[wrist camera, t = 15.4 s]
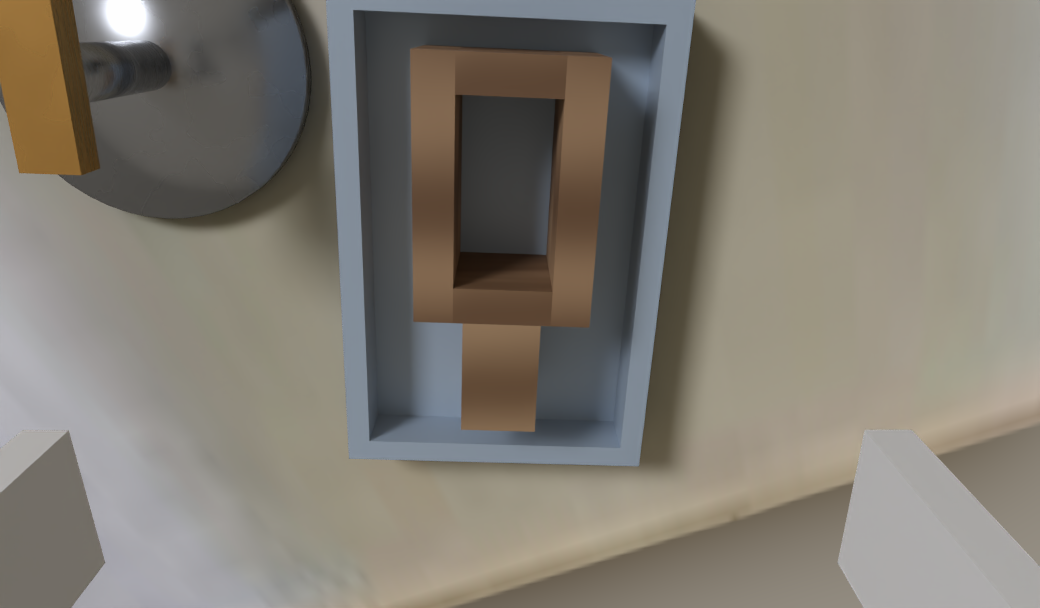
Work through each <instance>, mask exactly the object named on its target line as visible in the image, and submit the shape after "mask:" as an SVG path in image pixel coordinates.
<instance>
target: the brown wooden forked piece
mask: <svg viewBox="0 0 1040 608" xmlns="http://www.w3.org/2000/svg"><path fill="white" fill-rule="evenodd" d="M611 67H612V58H611V57H608V56H605V55H602V54H599V53H595V52H573V51H551V50H529V49H506V48H484V47H462V46H440V45H422V46H419V47H415V48H411V49H410V81H411V165H412V249H413V322H430V323H461V324H463V326H462V392H461V430H487V431H524V432H535V417H536V400H537V382H538V365H539V348H540V331H541V326H553V327H584V328H589V326H590V314H591V303H592V291H593V279H594V267H595V256H596V244H597V232H598V220H599V208H600V197H601V185H602V173H603V161H604V150H605V138H606V126H607V114H608V102H609V91H610V79H611ZM463 95H476V96H500V97H523V98H547V99H555V114H554V131H553V148H552V165H551V182H550V199H549V216H548V233H547V250H546V255H537V254H509V253H481V252H460V247H461V172H462V98H463Z"/></svg>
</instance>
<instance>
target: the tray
mask: <svg viewBox="0 0 1040 608" xmlns="http://www.w3.org/2000/svg"><path fill="white" fill-rule="evenodd" d="M695 2H696V0H326V8H327V28H328V48H329V68H330V88H331V108H332V128H333V148H334V167H335V187H336V207H337V227H338V247H339V267H340V287H341V307H342V327H343V347H344V367H345V386H346V406H347V426H348V446H349V459H385V460H422V461H459V462H497V463H534V464H572V465H609V466H639V461H640V453H641V444H642V436H643V428H644V420H645V412H646V403H647V395H648V387H649V379H650V371H651V363H652V354H653V346H654V338H655V330H656V322H657V313H658V305H659V297H660V289H661V281H662V272H663V264H664V256H665V248H666V240H667V231H668V223H669V215H670V207H671V199H672V190H673V182H674V174H675V166H676V158H677V149H678V141H679V133H680V125H681V117H682V109H683V100H684V92H685V84H686V76H687V68H688V59H689V51H690V43H691V35H692V27H693V18H694V10H695ZM422 45H440V46H462V47H484V48H506V49H529V50H551V51H573V52H595V53H599V54H602V55H605V56H608V57H611V58H612V67H611V79H610V91H609V102H608V114H607V126H606V138H605V150H604V161H603V173H602V185H601V197H600V208H599V220H598V232H597V244H596V256H595V267H594V279H593V291H592V303H591V314H590V326H589V328H584V327H553V326H541V331H540V348H539V365H538V382H537V400H536V417H535V432H524V431H487V430H461V392H462V326H463V324H461V323H430V322H413V249H412V165H411V81H410V49H411V48H415V47H419V46H422ZM554 114H555V99H547V98H523V97H500V96H476V95H463V98H462V172H461V247H460V252H481V253H509V254H537V255H546V250H547V233H548V216H549V199H550V182H551V165H552V148H553V131H554Z"/></svg>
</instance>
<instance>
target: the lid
mask: <svg viewBox="0 0 1040 608" xmlns="http://www.w3.org/2000/svg"><path fill="white" fill-rule="evenodd" d="M310 93H311V69H310V61H309V53H308V47H307V43H306V39H305V35H304V31H303V28H302V25H301V22H300V20H299V17H298V14H297V12H296V9H295V7H294V5H293V3H292V1H291V0H0V102H1V104H2V106H3V107H4V109H5V111H6V113H7V117H8V121H9V126H10V131H11V136H12V140H13V145H14V150H15V155H16V159H17V164H18V169H19V173H34V174H58V175H59V176H60V177H62V178H63V179H64V180H65V181H67V182H68V183H69V184H71V185H72V186H74V187H75V188H77V189H79V190H80V191H82V192H83V193H85V194H87V195H88V196H90V197H92V198H94V199H96V200H98V201H100V202H103V203H105V204H107V205H109V206H112V207H115V208H118V209H120V210H123V211H126V212H130V213H134V214H139V215H143V216H148V217H157V218H167V219H168V218H190V217H196V216H203V215H207V214H210V213H214V212H217V211H220V210H223V209H225V208H228V207H230V206H232V205H234V204H236V203H238V202H240V201H242V200H243V199H245V198H246V197H248V196H249V195H251V194H252V193H254V192H255V191H257V190H258V189H260V188H261V187H263V186H264V185H265V184H266V183H267V182H268V181H269V180H270V179H272V178H273V177H274V176H275V175H276V174H277V172H278V171H279V170H280V169H281V168H282V166H283V165H284V164H285V163H286V161H287V160H288V158H289V157H290V155H291V153H292V152H293V150H294V148H295V147H296V145H297V142H298V140H299V138H300V135H301V133H302V131H303V128H304V124H305V120H306V117H307V113H308V108H309V100H310Z"/></svg>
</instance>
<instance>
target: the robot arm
mask: <svg viewBox="0 0 1040 608" xmlns="http://www.w3.org/2000/svg"><path fill="white" fill-rule="evenodd" d="M104 564H105V560H104V557H103V553H102V549H101V546H100V542H99V539H98V535H97V531H96V528H95V524H94V520H93V517H92V513H91V510H90V506H89V502H88V499H87V495H86V491H85V488H84V484H83V481H82V477H81V473H80V470H79V466H78V462H77V459H76V455H75V452H74V448H73V444H72V441H71V437H70V433H69V430H22V431H21V432H20V433H19V434H18V435H16V436H15V437H14V438H13V439H12V440H10V441H9V442H8V443H7V444H5V445H4V446H3V447H2V448H1V449H0V608H71V607H72V606H73V604H74V603H75V602H76V600H77V599H78V598H79V596H80V595H81V594H82V592H83V591H84V590H85V589H86V587H87V586H88V585H89V583H90V582H91V581H92V579H93V578H94V577H95V575H96V574H97V573H98V572H99V570H100V569H101V568H102V566H103V565H104ZM838 564H839V566H840V568H841V570H842V571H843V573H844V575H845V576H846V578H847V580H848V582H849V583H850V585H851V587H852V589H853V590H854V592H855V594H856V596H857V597H858V599H859V601H860V602H861V604H862V606H863V608H1040V566H1039V565H1038V564H1037V563H1036V562H1035V561H1034V560H1033V559H1032V558H1031V557H1030V556H1029V555H1028V553H1026V551H1025V550H1024V549H1023V548H1022V547H1021V546H1020V545H1019V544H1018V543H1017V542H1016V541H1015V540H1014V539H1013V538H1012V536H1011V535H1010V534H1009V533H1008V532H1007V531H1006V530H1005V529H1004V528H1003V527H1002V526H1001V525H1000V524H999V523H998V521H996V519H995V518H994V517H993V516H992V515H991V514H990V513H989V512H988V511H987V510H986V509H985V508H984V507H983V506H982V505H981V503H980V502H979V501H978V500H977V499H976V498H975V497H974V496H973V495H972V494H971V493H970V492H969V491H968V489H967V488H966V487H965V486H964V485H963V484H962V483H961V482H960V481H959V480H958V479H957V478H956V477H955V476H954V475H953V473H952V472H951V471H950V470H949V469H948V468H947V467H946V466H945V465H944V464H943V463H942V462H941V461H940V460H939V459H938V457H937V456H936V455H935V454H934V453H933V452H932V451H931V450H930V449H929V448H928V447H927V446H926V445H925V444H924V443H923V441H922V440H921V439H920V438H919V437H918V436H917V435H916V434H915V433H914V432H913V431H912V430H865V431H864V436H863V441H862V446H861V451H860V456H859V461H858V466H857V471H856V475H855V480H854V485H853V490H852V496H851V500H850V505H849V510H848V515H847V520H846V524H845V530H844V534H843V539H842V544H841V549H840V554H839V559H838Z"/></svg>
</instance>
